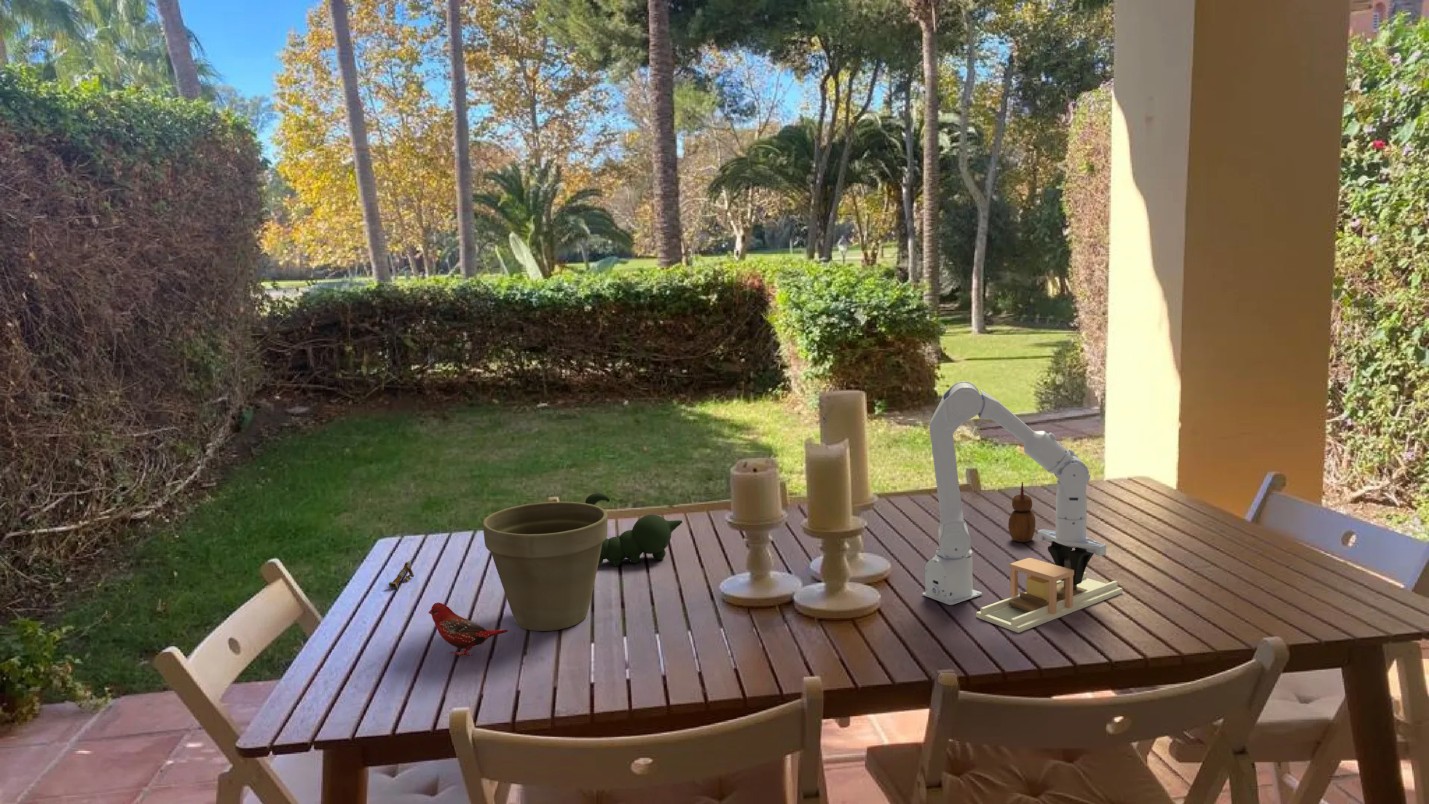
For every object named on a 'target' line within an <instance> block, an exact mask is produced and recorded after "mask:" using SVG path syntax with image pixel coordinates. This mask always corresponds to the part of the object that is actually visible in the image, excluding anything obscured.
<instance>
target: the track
mask: <svg viewBox="0 0 1429 804" xmlns="http://www.w3.org/2000/svg"><path fill="white" fill-rule="evenodd" d="M1009 569H1010V570H1009V571H1010V572H1009V573H1010V576H1009V577H1010V594H1009V595H1010V597H1009V598H1005V599H1002V600H999V601H997V602H994V603H991V604H988V605H986V606H981V607H980V611H976V612H975V613H976V614H975V617H976V618H978V619H980V620H983V621H986V622H988V623H991V624H994V625H996V626H999V627H1001V628H1004V629H1006V630H1007V629H1008V630H1009V631H1012V632H1014V633H1018V634H1019V633H1022V632H1025V631H1028V630H1029V629H1032V628H1035V627H1038V626H1040V625H1042V624H1045V623H1048V622H1050V621H1053V620H1056V619H1058V618H1061V617H1064V616H1066V615H1068V614H1071V613H1073V612H1077V611H1079V610H1082V609H1085V608H1087V607H1089V606H1092V605H1095V604H1097V603H1099V602H1103V601H1105V600H1108V599H1110V598H1114V597H1116V596H1118V595H1121V594H1123V588H1122V587H1119V586H1118V584H1119V583H1118V582H1119V581H1117V580H1112V581H1110V582H1108V583H1104V582H1102V581H1098V580H1095V579H1091V578H1088V577H1087V572H1086V571H1085V572H1084V575H1083V578H1082V582H1081V583H1080V584H1077V587H1080V588H1083V589H1086V590H1088V591H1085V592H1083V593H1080V594H1077V595H1074V596H1073V575H1074V570H1071V569H1068V568H1064V567H1061V566H1057V565H1055V563H1054V564H1053V563H1050V562H1047V561H1043V560H1040V559H1036V558H1032V557H1027V558H1024V559H1020V560H1017V561H1014V562H1011V563H1009ZM1019 572H1020V573H1023V574H1026V579H1027V578H1029V577H1032V576H1035V577H1039V578H1042V579H1045V580H1049V605H1047V606H1045V607H1042V608H1039V609H1036V610H1034V611H1031V612H1028V611H1025V610H1022V609H1019V608H1016V607H1013V606H1010V605H1009V601H1012V600H1014V599H1017V598H1020V593H1019V575H1018V574H1019ZM1062 579H1065V599H1064V600H1061V601H1058V602H1056V601H1057V584H1060V583H1064V581H1060V580H1062ZM1024 593H1026V594H1027V591H1025V592H1024Z"/></svg>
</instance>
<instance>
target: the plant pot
mask: <svg viewBox="0 0 1429 804" xmlns="http://www.w3.org/2000/svg"><path fill="white" fill-rule="evenodd" d="M608 517H609V514H608V512H607V510H606V509H604V508H602V507H601V506H598V505H596V504H595V505H592V504H586V503H585V502H575V501H545V502H536V503H527V504H520V505H516V506H511V507H510V506H509V507H507V508H505V509H501V510H498V511H495V512H494V513H491V514H490V515H488V516H486V517H485V518H484V519H483V521H482V531H483V538H484V546H485V548H486V549H487V550H488V551H489V552H490V553H491V556H492V560H493V562H494V566H495V568H496V569H495V570H496V571H497V575H498V577H499V580H500V583H501V586H502V588H503V591H504V593H505V597H506V600H507V603H508V605H509V608H510V612H511V615H512V616H513V619H514V622H515V623H516V624H517V626H519V627H520V628H522V629H524V630H528V631H532V632H533V631H534V632H550V631H551V632H552V631H559V630H563V629H568V628H571V627H573V626H576V625H578V624H580V623H581V622H582V621H584V620H585V619H586V617H587V615H588V612H589V609H590V605H591V600H592V595H593V592H594V586H595V581H596V577H597V572H598V567H599V564H598V563H599V558H600V553H601V548H602V542H604V541H605V539H606V538H607V537H608V520H609V519H608ZM607 539H608V538H607Z"/></svg>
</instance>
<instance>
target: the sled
mask: <svg viewBox="0 0 1429 804" xmlns="http://www.w3.org/2000/svg"><path fill="white" fill-rule="evenodd" d="M1064 568H1068V569H1071V563H1070V559H1069V557H1067V558H1064ZM1085 591H1088V590H1086V589H1083V588H1080V587H1077V585H1074V584H1073V596H1074V595H1077V594H1080V593H1083V592H1085ZM1019 594H1020V598H1017V599H1014V600H1012V601H1009V605H1010V606H1013V607H1016V608H1019V609H1022V610H1025V611H1028V612H1031V611H1034V610H1036V609H1039V608H1042V607H1045V606H1047V605H1049V602H1046V600H1045V599H1042V598H1039V597H1035V596H1032V595H1029V594H1026V593H1025V592H1019ZM1064 599H1065V579H1064V583H1060V584H1057V601H1056V602H1058V601H1061V600H1064Z"/></svg>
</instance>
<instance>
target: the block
mask: <svg viewBox="0 0 1429 804" xmlns="http://www.w3.org/2000/svg"><path fill="white" fill-rule="evenodd" d="M1026 592H1027V594H1029V595H1032V596H1035V597H1039V598H1042V599H1045V600H1046V602H1049V580H1045V579H1042V578H1039V577H1035V576H1032V577H1029V578H1027V577H1026Z"/></svg>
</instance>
